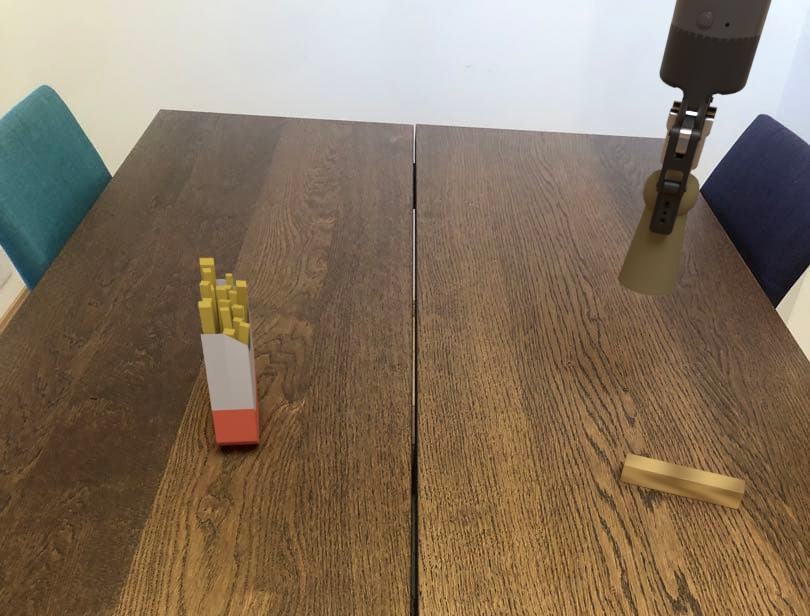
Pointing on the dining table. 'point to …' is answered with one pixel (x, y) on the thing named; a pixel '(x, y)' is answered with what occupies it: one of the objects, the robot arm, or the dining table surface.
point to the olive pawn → (657, 243)
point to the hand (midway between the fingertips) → (663, 220)
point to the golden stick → (683, 481)
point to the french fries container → (229, 357)
